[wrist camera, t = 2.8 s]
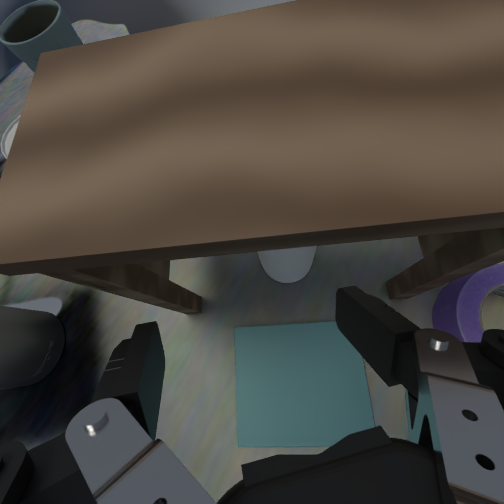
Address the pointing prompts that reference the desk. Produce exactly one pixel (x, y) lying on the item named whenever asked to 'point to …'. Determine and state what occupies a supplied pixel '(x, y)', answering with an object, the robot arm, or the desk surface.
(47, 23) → the grey green cup
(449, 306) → the tape roll
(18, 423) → the desk surface
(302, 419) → the pad
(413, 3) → the small wooden table
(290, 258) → the can
